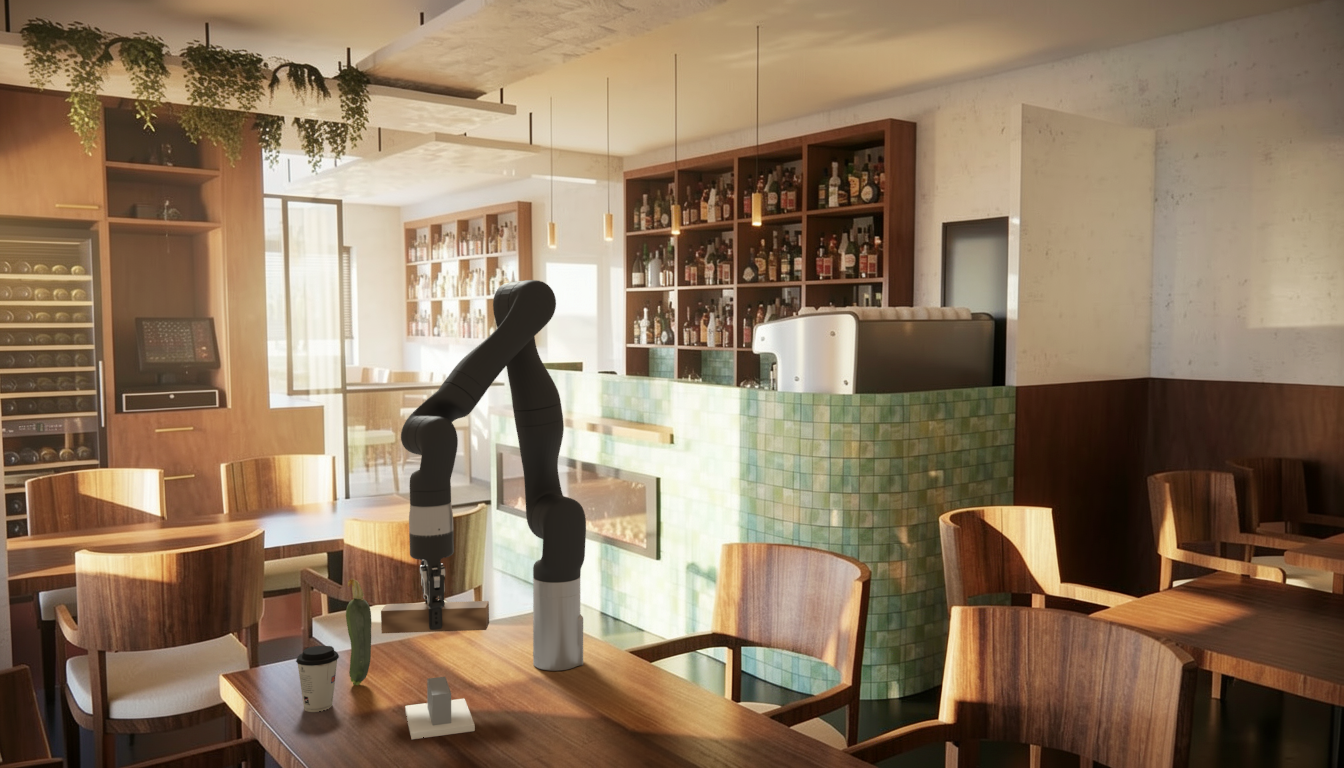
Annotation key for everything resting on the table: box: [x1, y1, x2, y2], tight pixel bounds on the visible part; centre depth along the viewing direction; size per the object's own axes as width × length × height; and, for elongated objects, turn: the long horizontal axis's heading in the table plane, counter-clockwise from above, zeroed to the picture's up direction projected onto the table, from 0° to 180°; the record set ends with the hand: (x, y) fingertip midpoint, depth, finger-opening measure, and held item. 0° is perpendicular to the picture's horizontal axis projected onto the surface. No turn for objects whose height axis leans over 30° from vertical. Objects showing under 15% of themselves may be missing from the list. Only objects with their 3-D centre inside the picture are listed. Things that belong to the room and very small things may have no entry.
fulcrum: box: [404, 676, 476, 740], centre depth 158 cm, size 10×12×6 cm
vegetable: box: [345, 578, 372, 686], centre depth 173 cm, size 4×4×20 cm
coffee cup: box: [295, 645, 340, 713], centre depth 164 cm, size 7×7×10 cm
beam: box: [380, 600, 490, 634], centre depth 167 cm, size 18×4×4 cm, turn 94°
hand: (433, 624), depth 167 cm, fingers closed on beam, 5 cm apart
